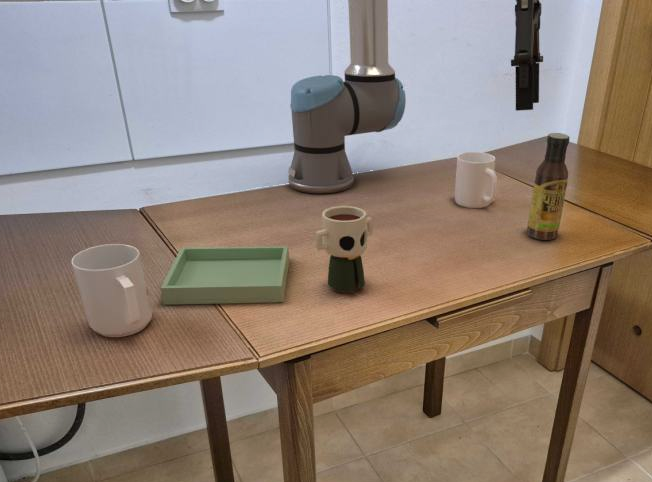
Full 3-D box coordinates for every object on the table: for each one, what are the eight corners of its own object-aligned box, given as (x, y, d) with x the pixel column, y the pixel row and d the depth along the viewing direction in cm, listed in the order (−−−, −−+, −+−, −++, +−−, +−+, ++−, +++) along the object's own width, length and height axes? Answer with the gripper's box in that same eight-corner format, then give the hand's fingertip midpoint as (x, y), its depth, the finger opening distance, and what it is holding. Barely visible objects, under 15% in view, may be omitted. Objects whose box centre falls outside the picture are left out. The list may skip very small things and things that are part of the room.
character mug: (331, 304, 103) (328, 228, 96) (307, 288, 107) (302, 214, 101) (384, 285, 109) (385, 212, 102) (359, 270, 114) (358, 200, 107)
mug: (81, 322, 96) (62, 254, 90) (140, 304, 101) (125, 238, 95) (111, 356, 89) (92, 284, 83) (173, 335, 94) (159, 266, 88)
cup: (476, 193, 150) (480, 150, 144) (508, 210, 141) (514, 164, 136) (447, 199, 146) (449, 154, 141) (478, 216, 137) (482, 169, 132)
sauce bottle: (537, 243, 126) (552, 141, 115) (520, 232, 131) (533, 132, 120) (564, 239, 128) (581, 137, 118) (546, 228, 133) (561, 129, 122)
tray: (183, 262, 114) (181, 247, 113) (289, 261, 116) (288, 245, 115) (163, 304, 101) (160, 288, 100) (283, 302, 103) (281, 285, 101)
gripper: (548, -52, 88) (546, 112, 97) (556, -33, 110) (554, 99, 119) (494, -45, 90) (496, 114, 99) (512, -28, 112) (513, 101, 121)
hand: (527, 106), depth 109 cm, fingers open, 13 cm apart
